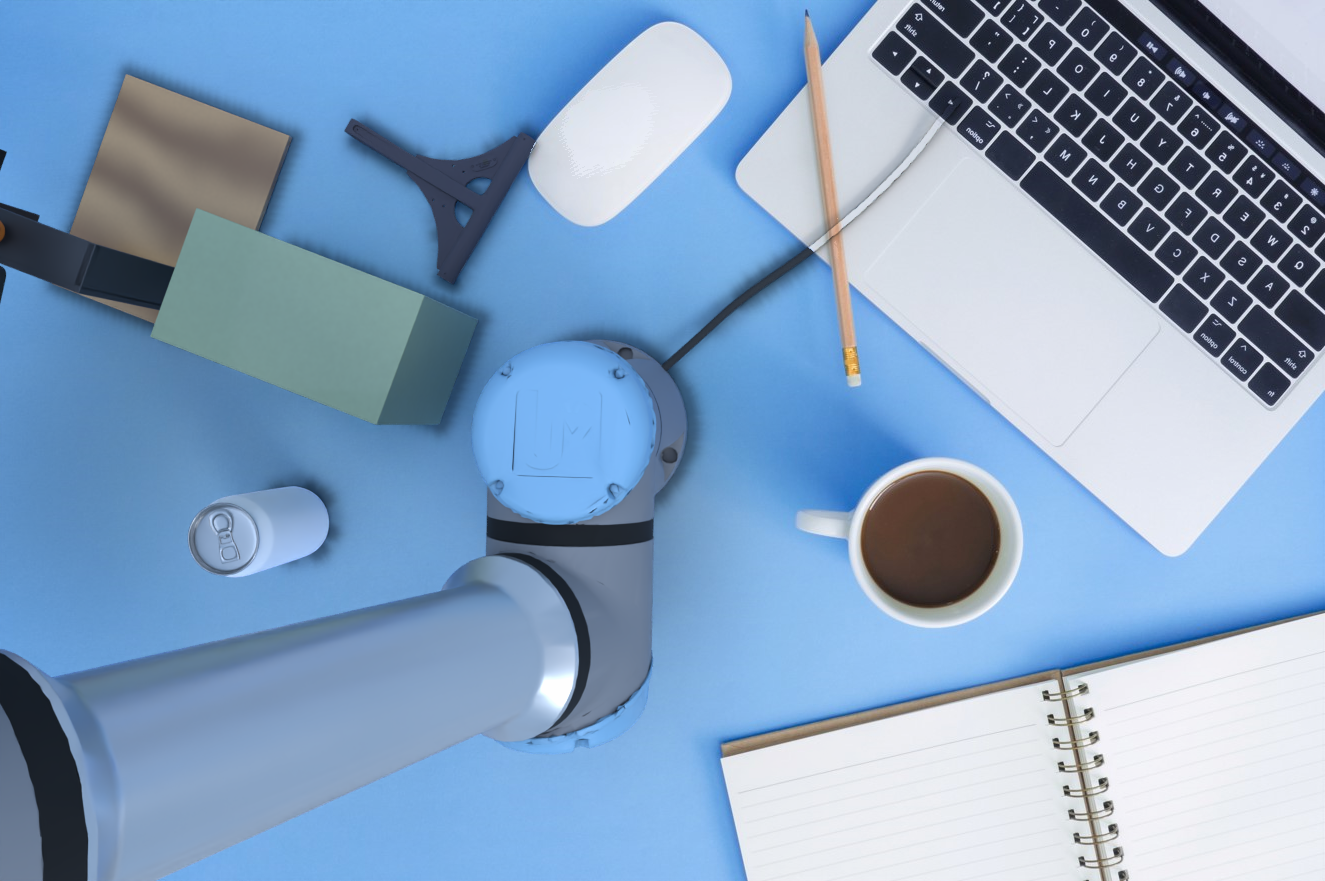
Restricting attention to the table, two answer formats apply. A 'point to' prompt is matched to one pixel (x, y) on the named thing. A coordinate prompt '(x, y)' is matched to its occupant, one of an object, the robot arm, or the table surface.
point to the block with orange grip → (79, 262)
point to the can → (257, 531)
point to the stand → (312, 325)
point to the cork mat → (173, 175)
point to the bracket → (455, 189)
